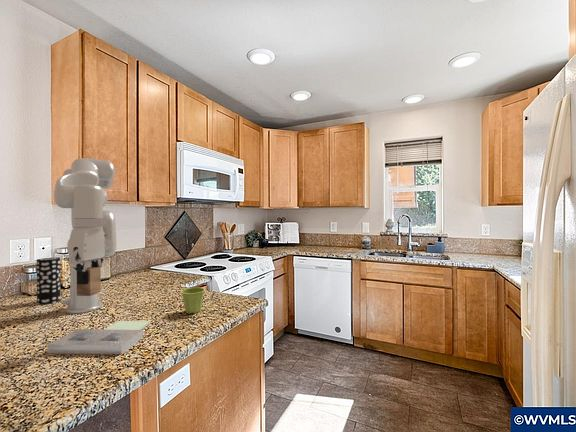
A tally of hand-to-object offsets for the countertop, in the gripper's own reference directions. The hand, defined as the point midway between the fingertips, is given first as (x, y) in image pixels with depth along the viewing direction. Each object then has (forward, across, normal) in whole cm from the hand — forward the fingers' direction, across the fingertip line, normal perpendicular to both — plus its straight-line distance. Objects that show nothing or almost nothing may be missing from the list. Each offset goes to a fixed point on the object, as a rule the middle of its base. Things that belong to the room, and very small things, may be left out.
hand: (88, 281), depth 89 cm
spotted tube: (+20, -39, -50) cm, 67 cm away
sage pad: (+19, -11, +5) cm, 23 cm away
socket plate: (+19, +2, +4) cm, 20 cm away
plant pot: (+19, -29, +22) cm, 41 cm away
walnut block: (+4, 0, 0) cm, 4 cm away
